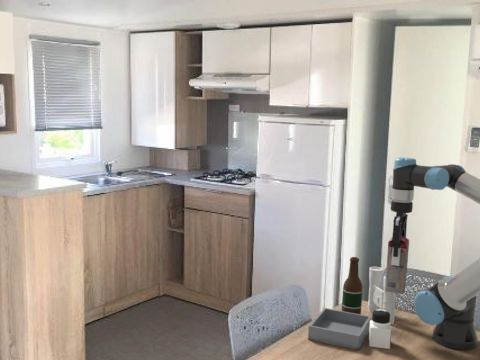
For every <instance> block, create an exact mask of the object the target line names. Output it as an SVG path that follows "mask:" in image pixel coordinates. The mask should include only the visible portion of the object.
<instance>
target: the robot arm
mask: <svg viewBox="0 0 480 360" xmlns="http://www.w3.org/2000/svg"><path fill="white" fill-rule="evenodd" d="M392 171H393V172H392V187H391V190H390V194H391V199H392V200H391V201H390V211H391V212H394V213H396V214H395V216H394V219H393V226H392V237H391V238H392V244H391V245H390V247H393V248H392V261H391V265H396V266H399V263H400V250H401V248H400V243H401V236H404V237H406V238H407V225H408V224H407V223H408V216H409V215H408V214H410V213H412V212H413V207H414V206H413V205H414V203H413V201H414V196H415V195H414V194H415V187H419V188H424V189H430V190H433V191H434V190H438V191H442V190H444V189H445V188H449V189H451V190H453V191H455V192H457V193H459V194H460V195H462V196H464V197H466V198H468V199H470V201H473V202H475V203H476V204H479V205H480V178H478V177H476V176H474V175H472V174H470V173H469V172H467V171H466V169H465V168H464V167H463V166H461V165H459V164H446V165H445V164H444V165H433V166H431V165H428V166H427V165H420V164H417V159H416V158H413V157H397V158H395V159H394V163H393V169H392ZM479 294H480V257H479V258H478V259H477V260H475V261H473V262H472V263H471V264H470V265H468V266H466V267H465V268H463V269H462V270H461V271H459V272H458V273H457V274H455V275H454V276H452V275H451V276H449V275H447V276H443V278H442V279H440V280H439V281H437V282H435V283H434V284H433V285H431V286H430V287H428V288H427V289H422V290H420V291H419V292H418V293H416V295H415V297H414V298H413V303H414V304H413V308H414V311H415V313H416V315H417V317H418V318H419V319H420V320H421V321H422V322H423V323H425V324H427V325H430V326H431V325H432V326H434V328H433V330H432V339H433V341H434V342H436V343H437V344H439V345H442V346H444V347H447V348H451V349H455V350H472V349H475V348H477V346H478V335H477V332H476V327H475V312H476V303H477V296H478V295H479Z"/></svg>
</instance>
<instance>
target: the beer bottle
mask: <svg viewBox="0 0 480 360" xmlns="http://www.w3.org/2000/svg"><path fill="white" fill-rule="evenodd" d="M359 261H360V258H359V257H356V256H351V257H349V270H348V275H347V278H346V279H345V281H344V283H343V286H342V297H341V298H342V299H341V300H342V302H341V311H344V312H350V313H355V314H360V315H362V303H363V283H362V280H361V279H360V276H359Z"/></svg>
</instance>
